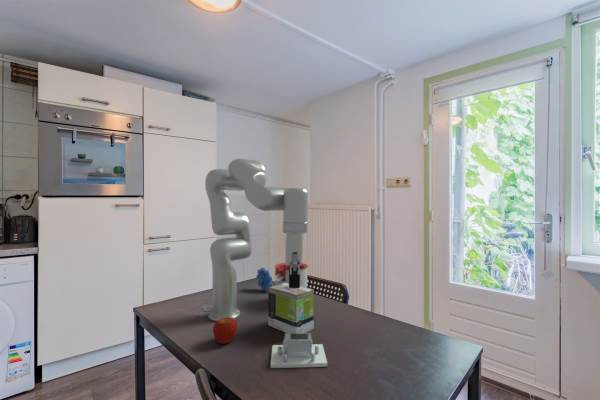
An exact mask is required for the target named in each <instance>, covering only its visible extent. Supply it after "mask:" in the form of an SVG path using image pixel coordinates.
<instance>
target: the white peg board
mask: <svg viewBox="0 0 600 400" xmlns="http://www.w3.org/2000/svg"><path fill="white" fill-rule="evenodd" d="M270 356H271V358H270V369H283V368H285V369H286V368H289V369H290V368H322V367H323V368H325V367H326V368H327V367H328V360H327V356H326V353H325V348H324V345H323V343H318V344H316V343H314V344H313V343H312V353H311V358H287V354H286V353H284V339H283V341H282V344H272V347H271V355H270Z"/></svg>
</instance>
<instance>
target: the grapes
mask: <svg viewBox="0 0 600 400" xmlns="http://www.w3.org/2000/svg"><path fill="white" fill-rule="evenodd" d="M256 280H257V284H258V286H259V287H261V288H260V289H261V290H262V291H263V292H264V291H267V292H268V287H271V286H273V282H272V280H273V277H272V276H271V275H270V271H269V270H268V269H265V267H261V268H259V269H258V270H257V275H256Z"/></svg>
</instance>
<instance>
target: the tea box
mask: <svg viewBox="0 0 600 400" xmlns="http://www.w3.org/2000/svg"><path fill="white" fill-rule="evenodd" d="M267 292H268V297H267V298H268V301H267V303H268V305H267V306H268V307H267V308H268V309H267V310H268V312H267V313H268V315H267V317H268V318H267V319H268V320H267V321H268V326H270V327H272V328H274V329H277V330H279V331H282V332H284V333H309V332H310V331H312V330H314V328H315V327H314V325H315V322H314V321H315V305H314V304H315V302H314V301H315V297H314V295H315V293H314V292H315V291H314V289H313V288H309V287H307V288H306V287H302V286H300V288H289V283H283V284H279V285H275V284H274V285H272V286H271V287H268V291H267Z"/></svg>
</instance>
